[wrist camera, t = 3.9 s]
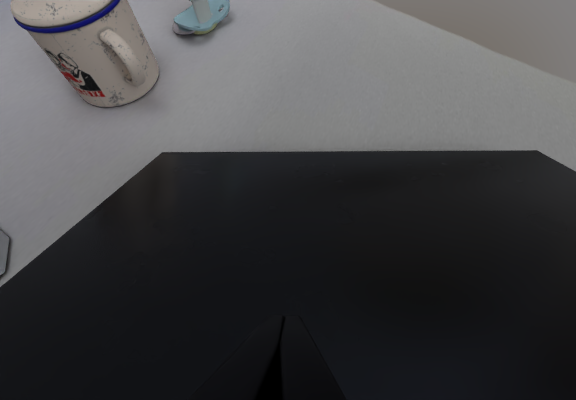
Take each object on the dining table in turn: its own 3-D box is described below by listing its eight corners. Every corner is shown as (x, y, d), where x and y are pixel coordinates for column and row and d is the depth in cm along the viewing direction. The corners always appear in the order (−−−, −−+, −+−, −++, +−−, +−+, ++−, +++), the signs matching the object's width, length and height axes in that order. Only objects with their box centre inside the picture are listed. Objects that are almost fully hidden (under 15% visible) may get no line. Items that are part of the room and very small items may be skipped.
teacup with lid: (63, 84, 34) (-40, -38, 24) (132, 43, 37) (66, -82, 27) (122, 139, 30) (27, 17, 20) (196, 87, 33) (146, -42, 23)
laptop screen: (1137, 522, 6) (1190, 506, 6) (-140, 435, 9) (-160, 419, 8) (533, 160, 24) (537, 150, 24) (164, 161, 26) (162, 152, 26)
